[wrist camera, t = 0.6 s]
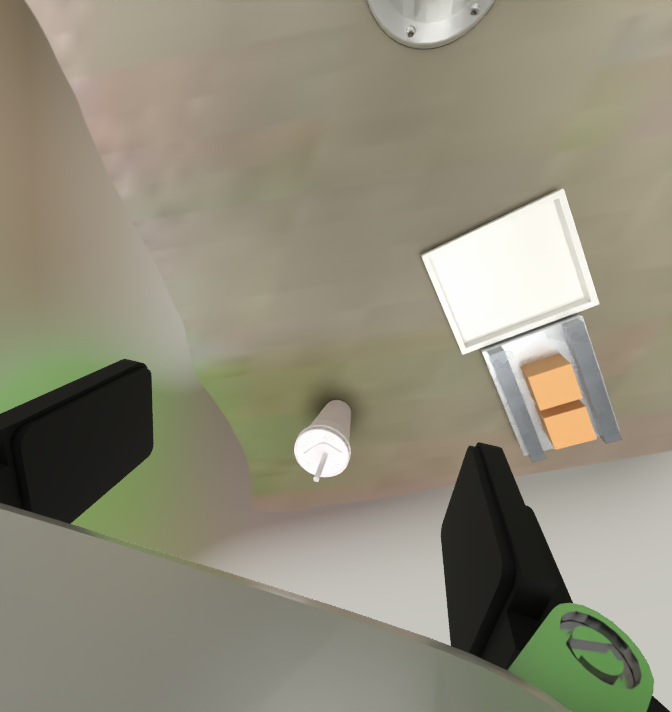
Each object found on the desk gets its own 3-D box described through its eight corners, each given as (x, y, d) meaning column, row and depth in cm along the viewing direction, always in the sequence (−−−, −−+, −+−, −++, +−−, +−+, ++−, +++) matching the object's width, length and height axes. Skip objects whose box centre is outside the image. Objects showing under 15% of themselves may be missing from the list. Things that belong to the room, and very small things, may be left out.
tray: (420, 254, 40) (421, 256, 39) (555, 190, 36) (563, 188, 34) (460, 348, 43) (462, 354, 41) (590, 300, 39) (599, 304, 37)
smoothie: (365, 430, 49) (348, 504, 37) (320, 434, 51) (289, 506, 38) (355, 387, 48) (334, 450, 35) (310, 393, 49) (273, 454, 36)
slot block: (477, 344, 42) (484, 357, 38) (570, 309, 39) (589, 320, 35) (517, 441, 46) (527, 463, 42) (606, 417, 42) (627, 438, 38)
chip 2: (534, 405, 41) (543, 418, 38) (573, 393, 39) (585, 406, 37) (545, 434, 41) (555, 449, 39) (584, 423, 40) (596, 438, 37)
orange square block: (519, 366, 39) (527, 377, 37) (559, 353, 38) (570, 363, 35) (531, 397, 40) (540, 410, 38) (570, 385, 39) (582, 398, 36)
